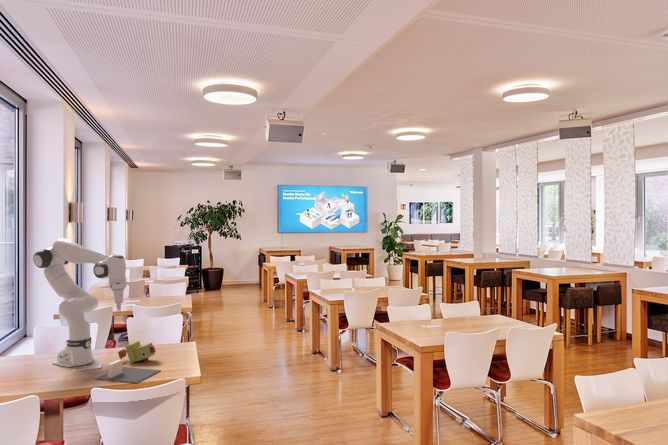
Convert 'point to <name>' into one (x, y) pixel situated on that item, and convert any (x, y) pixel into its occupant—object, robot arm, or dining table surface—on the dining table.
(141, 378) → the mat
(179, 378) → the dining table surface
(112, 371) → the cream tile
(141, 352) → the toy
